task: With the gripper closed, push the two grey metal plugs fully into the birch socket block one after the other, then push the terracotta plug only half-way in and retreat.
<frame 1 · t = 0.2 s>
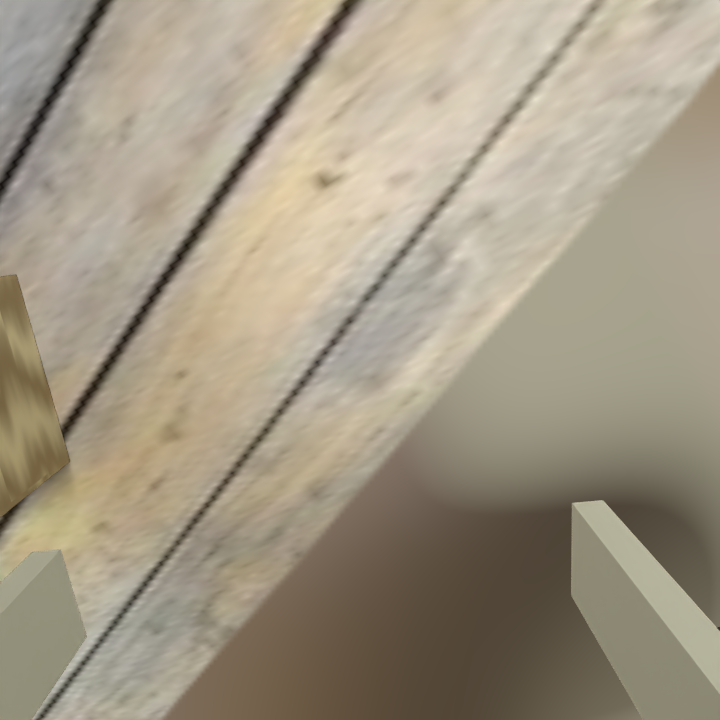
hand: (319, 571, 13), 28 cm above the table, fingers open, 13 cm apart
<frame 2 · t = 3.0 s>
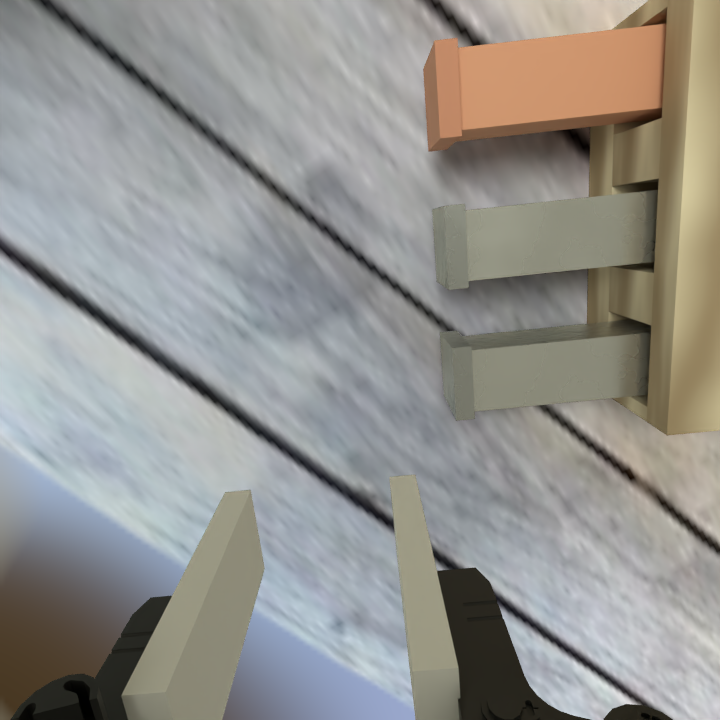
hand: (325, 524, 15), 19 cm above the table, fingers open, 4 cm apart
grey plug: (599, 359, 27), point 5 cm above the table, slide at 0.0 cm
socket block: (719, 213, 30), on the table
grey plug middle: (602, 230, 26), point 5 cm above the table, slide at 0.0 cm
terracotta plug: (606, 81, 24), point 5 cm above the table, slide at 0.0 cm
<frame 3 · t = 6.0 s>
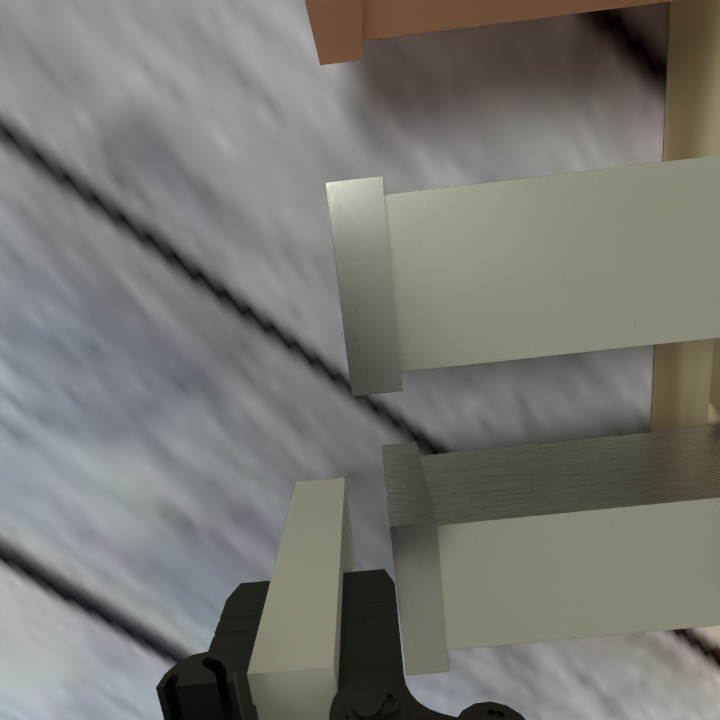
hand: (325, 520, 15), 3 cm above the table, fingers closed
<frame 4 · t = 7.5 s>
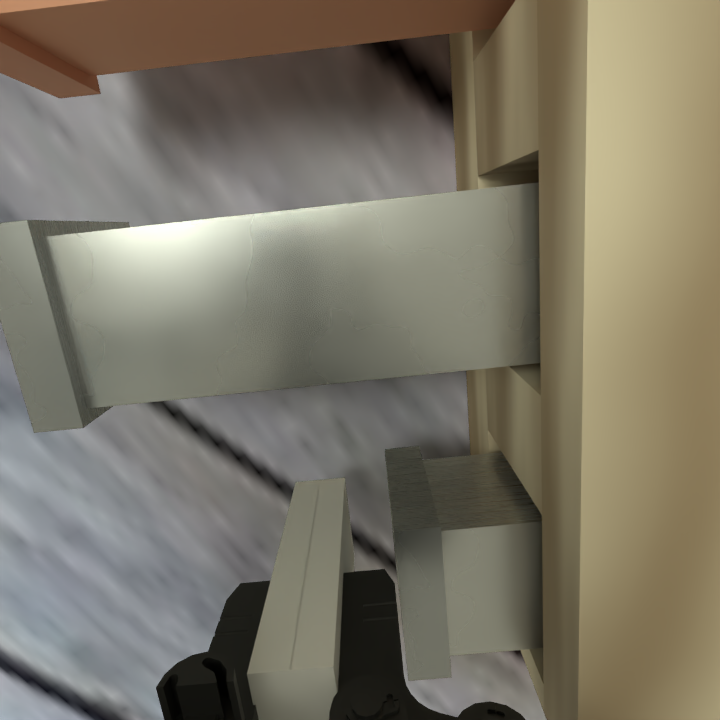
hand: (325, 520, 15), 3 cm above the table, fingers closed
socket block: (712, 230, 16), on the table
grey plug middle: (437, 277, 11), point 5 cm above the table, slide at 0.0 cm
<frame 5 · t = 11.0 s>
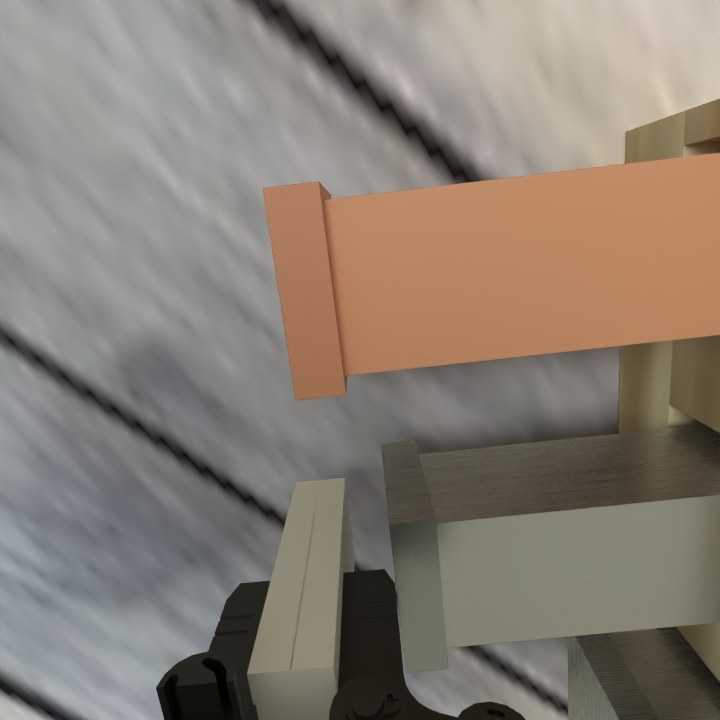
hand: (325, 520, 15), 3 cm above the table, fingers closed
grey plug middle: (719, 513, 13), point 5 cm above the table, slide at 1.6 cm, touching gripper
terracotta plug: (672, 244, 11), point 5 cm above the table, slide at 0.0 cm
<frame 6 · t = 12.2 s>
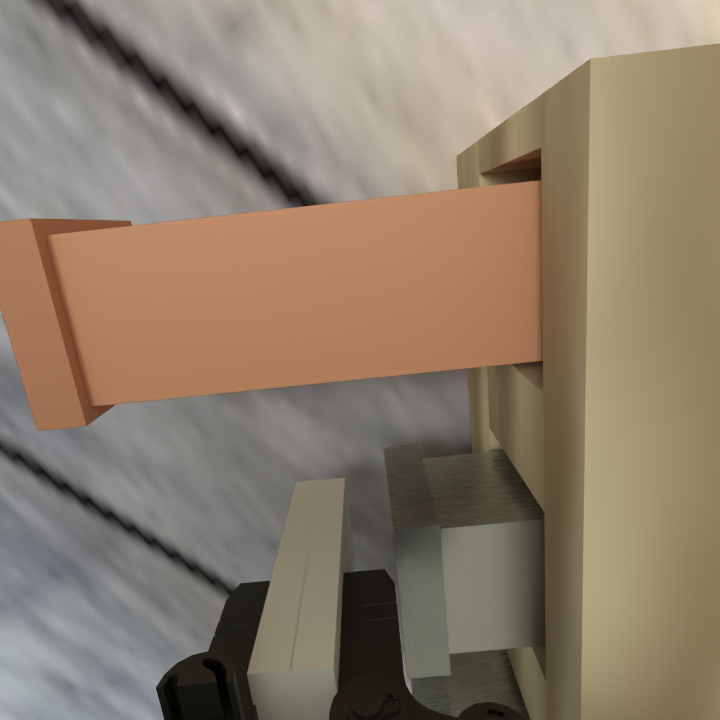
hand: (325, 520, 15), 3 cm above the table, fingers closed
socket block: (697, 431, 17), on the table
terracotta plug: (439, 275, 11), point 5 cm above the table, slide at 0.0 cm
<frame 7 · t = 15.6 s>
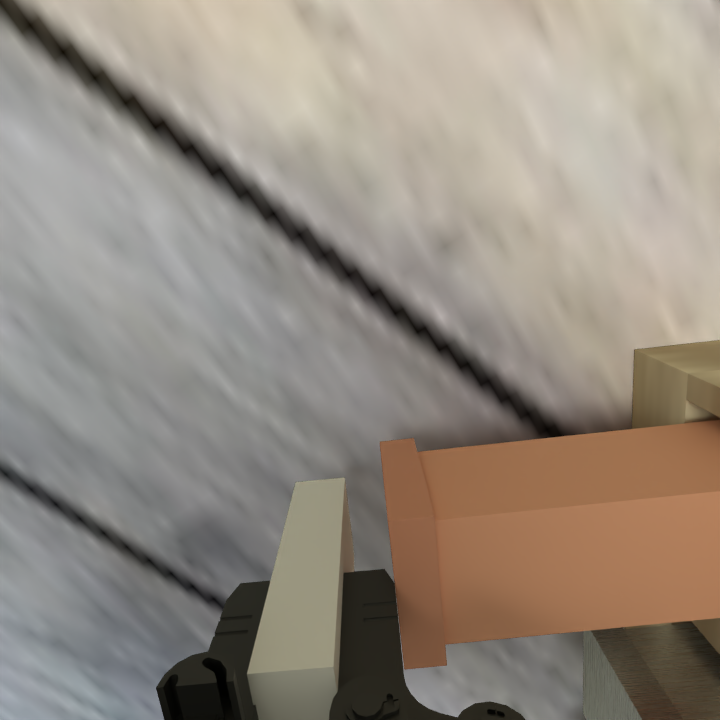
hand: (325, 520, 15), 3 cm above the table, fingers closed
terracotta plug: (716, 510, 13), point 5 cm above the table, slide at 1.0 cm, touching gripper
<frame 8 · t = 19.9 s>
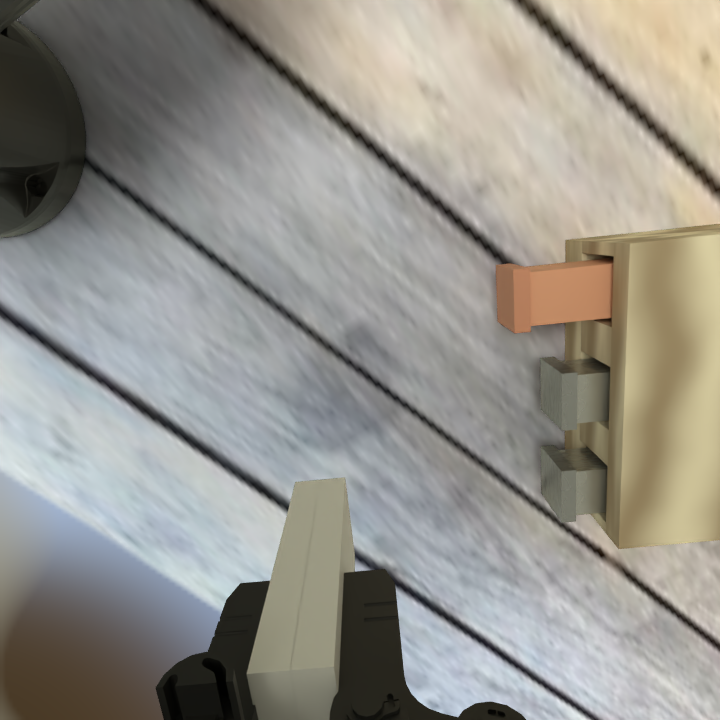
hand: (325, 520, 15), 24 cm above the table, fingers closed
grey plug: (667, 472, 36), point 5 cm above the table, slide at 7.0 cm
socket block: (666, 358, 39), on the table
grey plug middle: (673, 381, 34), point 5 cm above the table, slide at 7.0 cm
terracotta plug: (634, 284, 32), point 5 cm above the table, slide at 4.0 cm
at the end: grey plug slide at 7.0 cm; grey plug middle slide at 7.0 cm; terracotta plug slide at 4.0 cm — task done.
